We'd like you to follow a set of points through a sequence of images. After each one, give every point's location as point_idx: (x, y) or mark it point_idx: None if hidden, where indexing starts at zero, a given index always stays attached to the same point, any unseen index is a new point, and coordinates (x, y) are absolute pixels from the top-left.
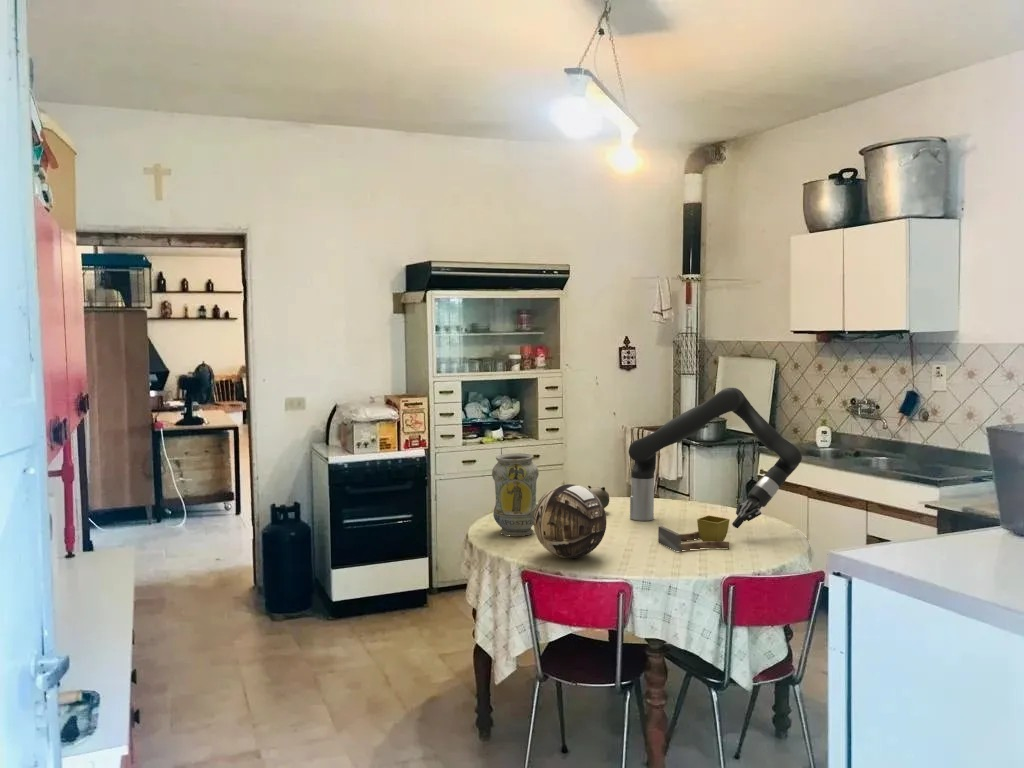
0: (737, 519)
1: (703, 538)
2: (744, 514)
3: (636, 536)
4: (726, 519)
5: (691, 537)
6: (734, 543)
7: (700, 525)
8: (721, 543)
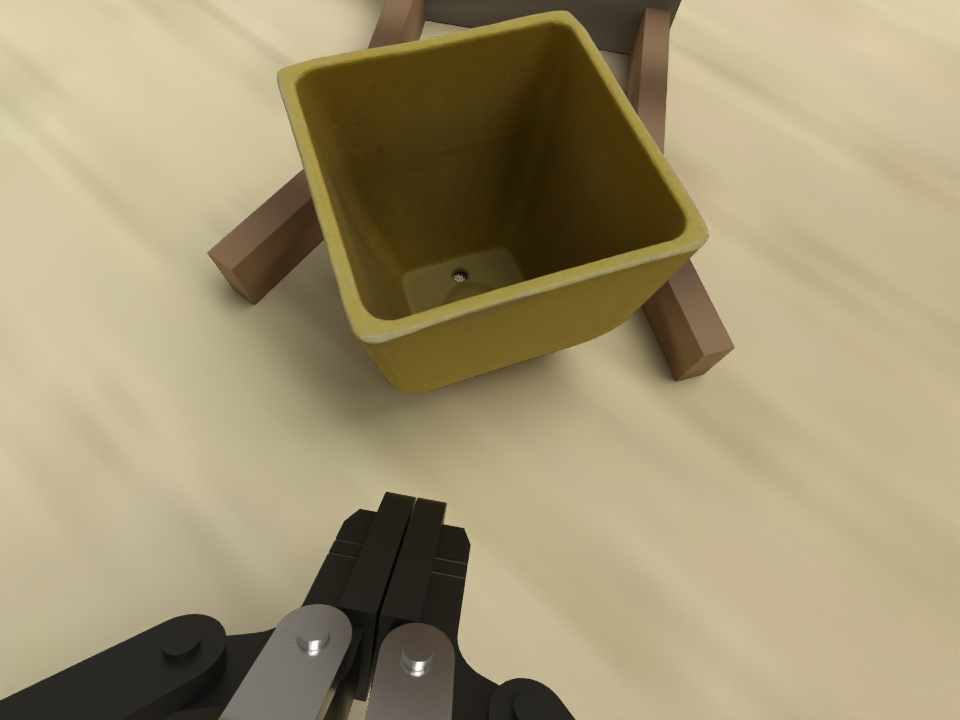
0: (378, 563)
1: (490, 204)
2: (237, 696)
3: (851, 30)
4: (405, 319)
5: None
6: (354, 477)
7: (516, 82)
8: (265, 213)
